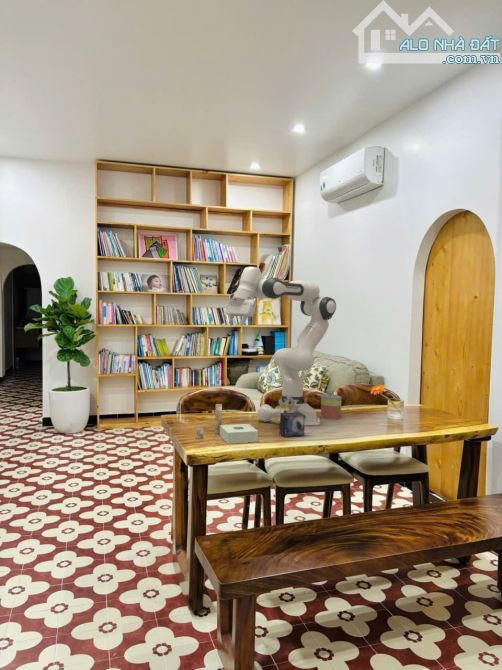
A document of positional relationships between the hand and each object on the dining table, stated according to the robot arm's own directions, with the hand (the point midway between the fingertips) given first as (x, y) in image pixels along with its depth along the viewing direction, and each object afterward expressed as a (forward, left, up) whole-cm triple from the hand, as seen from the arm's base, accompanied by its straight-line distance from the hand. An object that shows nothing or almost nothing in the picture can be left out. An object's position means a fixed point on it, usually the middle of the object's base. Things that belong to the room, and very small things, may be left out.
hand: (235, 324), depth 233 cm
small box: (-29, +4, -52) cm, 60 cm away
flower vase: (-21, -15, -52) cm, 58 cm away
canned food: (-51, -38, -52) cm, 82 cm away
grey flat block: (-4, +15, -52) cm, 54 cm away
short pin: (+13, +17, -52) cm, 56 cm away
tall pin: (+6, +7, -52) cm, 53 cm away
